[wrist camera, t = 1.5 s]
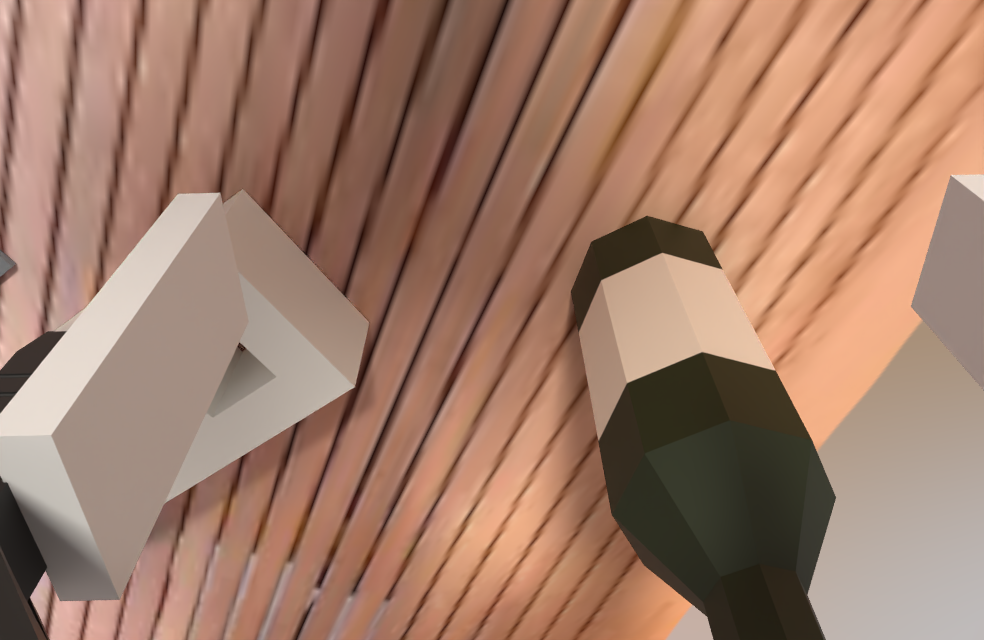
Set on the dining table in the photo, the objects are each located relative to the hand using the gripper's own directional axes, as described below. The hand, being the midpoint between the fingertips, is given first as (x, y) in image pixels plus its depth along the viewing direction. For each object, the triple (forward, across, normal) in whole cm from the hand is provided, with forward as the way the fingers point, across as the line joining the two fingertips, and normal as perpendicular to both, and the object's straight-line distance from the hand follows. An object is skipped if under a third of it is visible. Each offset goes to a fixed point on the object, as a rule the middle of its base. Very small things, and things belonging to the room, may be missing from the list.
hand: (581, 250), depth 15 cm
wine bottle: (+25, +7, -15) cm, 30 cm away
